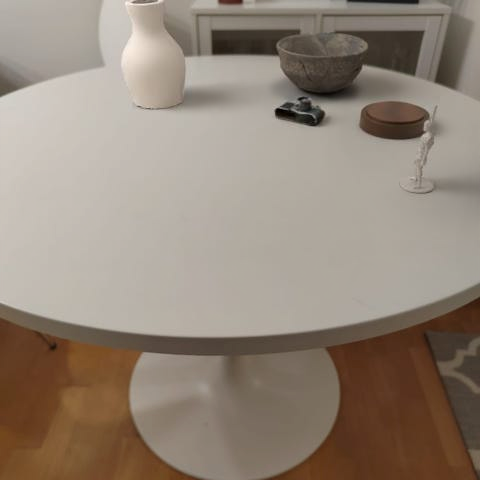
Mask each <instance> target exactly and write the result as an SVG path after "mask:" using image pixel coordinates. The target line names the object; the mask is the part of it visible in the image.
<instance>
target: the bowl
mask: <svg viewBox="0 0 480 480" xmlns="http://www.w3.org/2000/svg"><path fill="white" fill-rule="evenodd" d="M275 47H276V50H277V53H278V55H279V61H280V62H279V65H280V67H279V68H280V69H281V71H282V73H283V74H284V75H285V77H286V78H287V79H288V80H289V81H290V82H291V83H292V84H293V85H295V86H296V87H298V88H299V89H301V90H305V91H308V92H312V93H319V94H321V93H323V94H327V93H328V94H329V93H335V92H337V91H340V90H343V89H345V88H347V87H349V85H350V84H351V83H353V82H354V81H355V80H356V78H357V77H358V76H359V75H360V72H362V70H363V62H364V59H365V57H366V54H367V52H368V50H369V44H368V42H367V41H366V40H364V39H362V38H361V37H359V36H356V35H352V34H345V33H339V32H331V31H330V32H322V33H314V34H313V33H297V34H293V35H289V36H285V37H283V38H281V39H279V40H278V41H277V43H276V46H275Z"/></svg>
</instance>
